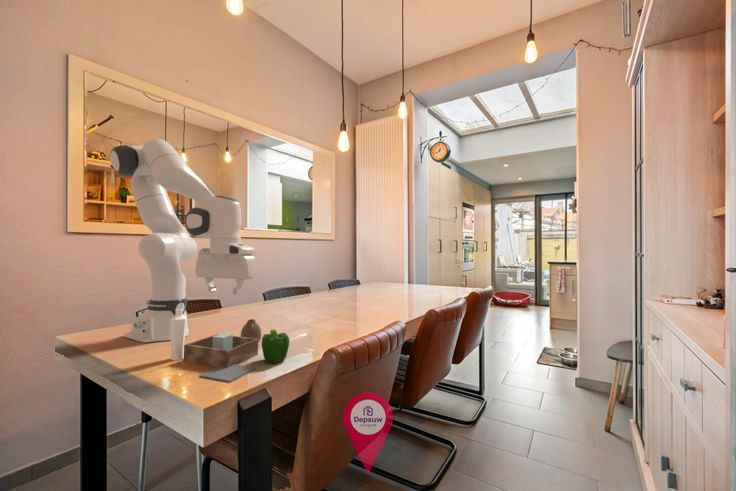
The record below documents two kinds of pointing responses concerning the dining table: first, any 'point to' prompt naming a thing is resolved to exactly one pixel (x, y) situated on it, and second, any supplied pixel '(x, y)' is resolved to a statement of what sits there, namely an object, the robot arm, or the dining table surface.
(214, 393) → the dining table surface
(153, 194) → the robot arm
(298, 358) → the dining table surface
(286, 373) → the dining table surface
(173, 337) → the perfume bottle
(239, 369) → the pad
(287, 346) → the bell pepper
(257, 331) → the vase
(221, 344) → the block
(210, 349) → the walnut crate
